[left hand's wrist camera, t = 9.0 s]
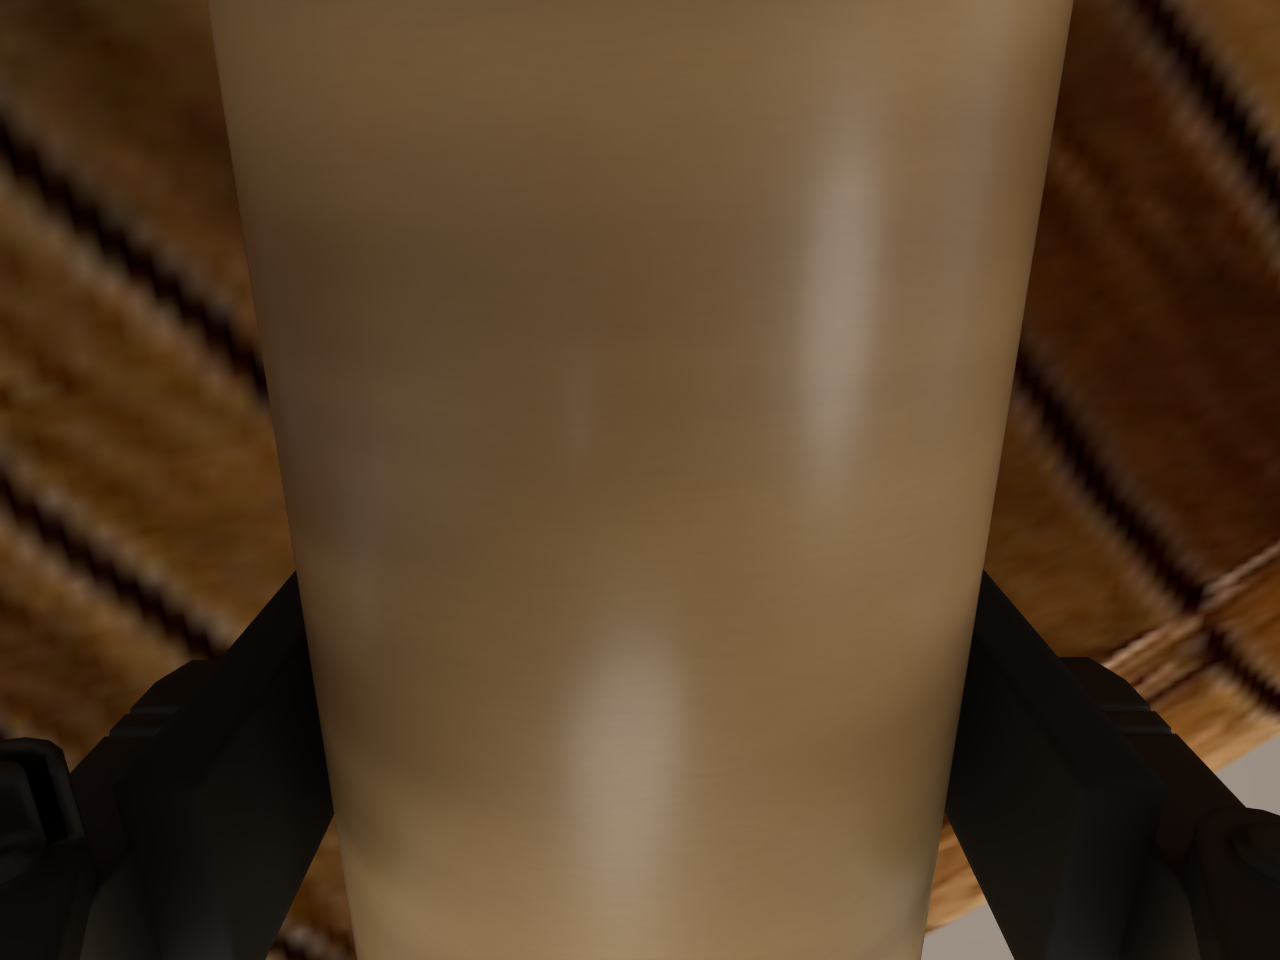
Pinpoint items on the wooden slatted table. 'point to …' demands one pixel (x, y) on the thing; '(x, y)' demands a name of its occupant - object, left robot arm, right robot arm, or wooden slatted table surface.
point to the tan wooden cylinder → (639, 446)
